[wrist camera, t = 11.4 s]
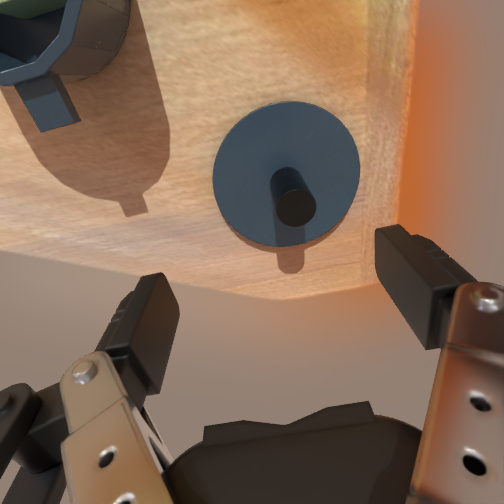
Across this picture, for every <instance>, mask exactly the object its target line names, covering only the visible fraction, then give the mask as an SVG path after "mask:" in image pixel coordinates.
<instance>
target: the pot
mask: <svg viewBox="0 0 504 504" xmlns="http://www.w3.org/2000/svg"><path fill="white" fill-rule="evenodd" d="M129 16H130V0H67V2H66V6H65V7H63V8H60V9H57V10H54V11H51V12H48V13H45V14H42V15H39V16H36V17H32V18H29V19H22V18H18V17H14V16H10V15H6V14H1V13H0V86H15V88H16V90H17V92H18V93H19V95H20V97H21V99H22V100H23V102H24V104H25V106H26V107H27V109H28V111H29V113H30V114H31V116H32V118H33V120H34V121H35V123H36V125H37V127H38V128H39V130H40V132H45V131H49V130H52V129H56V128H59V127H63V126H67V125H70V124H74V123H77V122H81V119H80V117H79V115H78V113H77V111H76V109H75V107H74V105H73V103H72V101H71V99H70V97H69V95H68V93H67V91H66V89H65V87H64V85H63V83H69V82H72V81H76V80H81V79H85V78H88V77H90V76H93V75H95V74H97V73H98V72H100V71H101V70H102V69H104V68H105V67H106V66H107V65H108V64H109V63H110V62H111V61H112V60H113V58H114V57H115V56H116V54H117V53H118V51H119V49H120V47H121V45H122V43H123V41H124V38H125V36H126V32H127V28H128V24H129Z"/></svg>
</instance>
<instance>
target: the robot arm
mask: <svg viewBox="0 0 504 504" xmlns="http://www.w3.org/2000/svg"><path fill="white" fill-rule="evenodd" d="M375 269H376V273H377V276H378V278H379V280H380V282H381V284H382V285H383V287H384V288H385V290H386V291H387V292H388V294H389V295H390V297H391V299H392V300H393V302H394V303H395V305H396V306H397V307H398V309H399V311H400V312H401V314H402V315H403V316H404V318H405V319H406V321H407V323H408V324H409V326H410V327H411V329H412V330H413V332H414V333H415V335H416V336H417V338H418V339H419V341H420V342H421V344H422V345H423V347H424V348H425V350H430V349H436V348H440V349H441V352H440V357H439V361H438V365H437V370H436V374H435V378H434V383H433V388H432V392H431V396H430V400H429V405H428V410H427V414H426V418H425V422H424V427H423V431H421V430H420V429H418V428H416V427H414V426H412V425H410V424H407V423H405V422H403V421H400V420H397V419H394V418H390V417H386V416H381V415H374V413H373V411H372V408H371V405H370V403H369V401H365V402H358V403H352V404H345V405H340V406H332V407H327V408H324V409H322V410H320V411H318V412H315V413H313V414H311V415H308V416H306V417H304V418H302V419H299V420H297V421H295V422H293V423H290V424H287V425H278V424H270V423H262V422H253V421H245V420H242V421H235V422H229V423H223V424H216V425H209V426H205V427H204V435H203V441H201V442H199V443H197V444H196V445H194V446H192V447H191V448H189V449H188V450H187V451H185V452H184V453H183V454H181V455H180V456H179V457H178V458H177V459H175V460H173V458H172V457H171V455H170V453H169V451H168V450H167V448H166V446H165V444H164V442H163V440H162V438H161V436H160V434H159V432H158V430H157V428H156V427H155V425H154V423H153V421H152V419H151V417H150V415H149V413H148V411H147V409H146V408H145V406H144V405H143V404H144V401H145V398H146V396H148V395H154V394H159V393H160V390H161V386H162V382H163V379H164V375H165V371H166V367H167V363H168V359H169V356H170V351H171V348H172V344H173V340H174V336H175V333H176V329H177V325H178V321H179V315H180V313H179V306H178V303H177V300H176V298H175V296H174V294H173V292H172V289H171V287H170V285H169V283H168V281H167V279H166V277H165V275H164V274H163V273H161V272H160V273H155V274H150V275H146V276H142V277H141V278H140V280H139V282H138V284H137V286H136V288H135V290H134V291H131V292H130V293H129V294H128V295H127V296H126V297H125V298H124V299H123V300H122V301H121V302H120V304H119V306H118V308H117V310H116V314H114V315H113V317H112V319H111V323H109V325H108V327H107V329H106V331H105V332H104V334H103V336H102V338H101V340H100V342H99V343H98V345H97V347H96V349H95V351H94V352H92V353H89V354H87V355H85V356H83V357H81V358H79V359H78V360H77V361H75V362H74V363H73V364H72V365H71V366H70V367H69V368H68V369H67V370H66V371H65V373H64V374H63V376H62V378H61V380H60V382H59V383H56V384H54V385H52V386H50V387H47V388H45V389H43V390H40V391H38V392H35V391H34V390H33V389H32V388H31V387H30V386H29V385H28V384H25V383H19V384H15V385H12V386H10V387H8V388H6V389H4V390H2V391H0V479H1V477H2V475H3V473H4V471H5V469H6V468H7V466H8V464H9V463H10V461H11V459H13V460H14V461H15V462H17V463H18V464H19V465H21V467H20V470H19V471H18V473H17V475H16V477H15V479H14V481H13V483H12V485H11V487H10V489H9V490H8V492H7V494H6V496H5V498H4V500H3V502H2V504H60V501H61V498H62V496H63V493H64V490H65V488H66V485H67V488H68V493H69V499H70V504H504V286H501V285H498V284H494V283H489V282H478V281H477V280H476V279H475V278H474V277H473V276H472V275H470V274H469V273H468V272H467V271H466V270H465V269H464V268H463V267H461V266H460V265H459V264H458V263H457V262H456V261H455V260H453V259H452V258H449V255H448V254H447V253H445V252H444V251H443V250H441V248H439V246H437V245H436V244H435V243H434V242H433V241H431V240H430V239H427V238H425V237H422V236H420V235H412V236H411V235H410V234H409V233H408V232H407V231H406V230H405V229H404V228H403V227H402V226H401V225H399V224H396V225H391V226H386V227H382V228H377V229H376V230H375Z"/></svg>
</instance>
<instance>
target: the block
mask: <svg viewBox="0 0 504 504" xmlns="http://www.w3.org/2000/svg"><path fill="white" fill-rule="evenodd" d="M66 2H67V0H0V13H1V14H6V15H10V16H14V17H18V18H22V19H29V18H32V17H36V16H39V15H42V14H45V13H48V12H51V11H54V10H57V9H60V8H63V7H65V6H66Z"/></svg>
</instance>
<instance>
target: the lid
mask: <svg viewBox="0 0 504 504" xmlns="http://www.w3.org/2000/svg"><path fill="white" fill-rule="evenodd" d="M359 178H360V161H359V155H358V151H357V147H356V145H355V142H354V140H353V138H352V136H351V134H350V133H349V131H348V129H347V128H346V127H345V126H344V125H343V123H342V122H341V121H340V120H339V119H337V118H336V117H335V116H334V115H333V114H331V113H329V112H328V111H326V110H325V109H322V108H320V107H318V106H316V105H313V104H309V103H305V102H298V101H282V102H277V103H271V104H268V105H266V106H263V107H260V108H258V109H256V110H254V111H252V112H251V113H249V114H248V115H246V116H245V117H243V118H242V119H241V120H240V121H239V122H238V123H237V124H235V125H234V127H233V128H232V129H231V130H230V131H229V133H228V134H227V135H226V137H225V139H224V140H223V142H222V144H221V146H220V148H219V150H218V153H217V156H216V159H215V163H214V169H213V189H214V194H215V198H216V201H217V204H218V206H219V209H220V211H221V212H222V214H223V216H224V217H225V219H226V220H227V221H228V223H229V224H230V225H231V226H232V227H233V228H234V229H235V230H236V231H238V232H239V233H240V234H242V235H243V236H245V237H247V238H248V239H250V240H253V241H255V242H257V243H261V244H264V245H269V246H278V247H284V246H294V245H299V244H303V243H306V242H309V241H311V240H314V239H316V238H318V237H320V236H321V235H323V234H324V233H326V232H327V231H329V230H330V229H331V228H332V227H334V226H335V225H336V224H337V223H338V222H339V221H340V220H341V218H342V217H343V216H344V215H345V213H346V212H347V211H348V209H349V207H350V205H351V204H352V202H353V199H354V197H355V195H356V191H357V188H358V184H359Z"/></svg>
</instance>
